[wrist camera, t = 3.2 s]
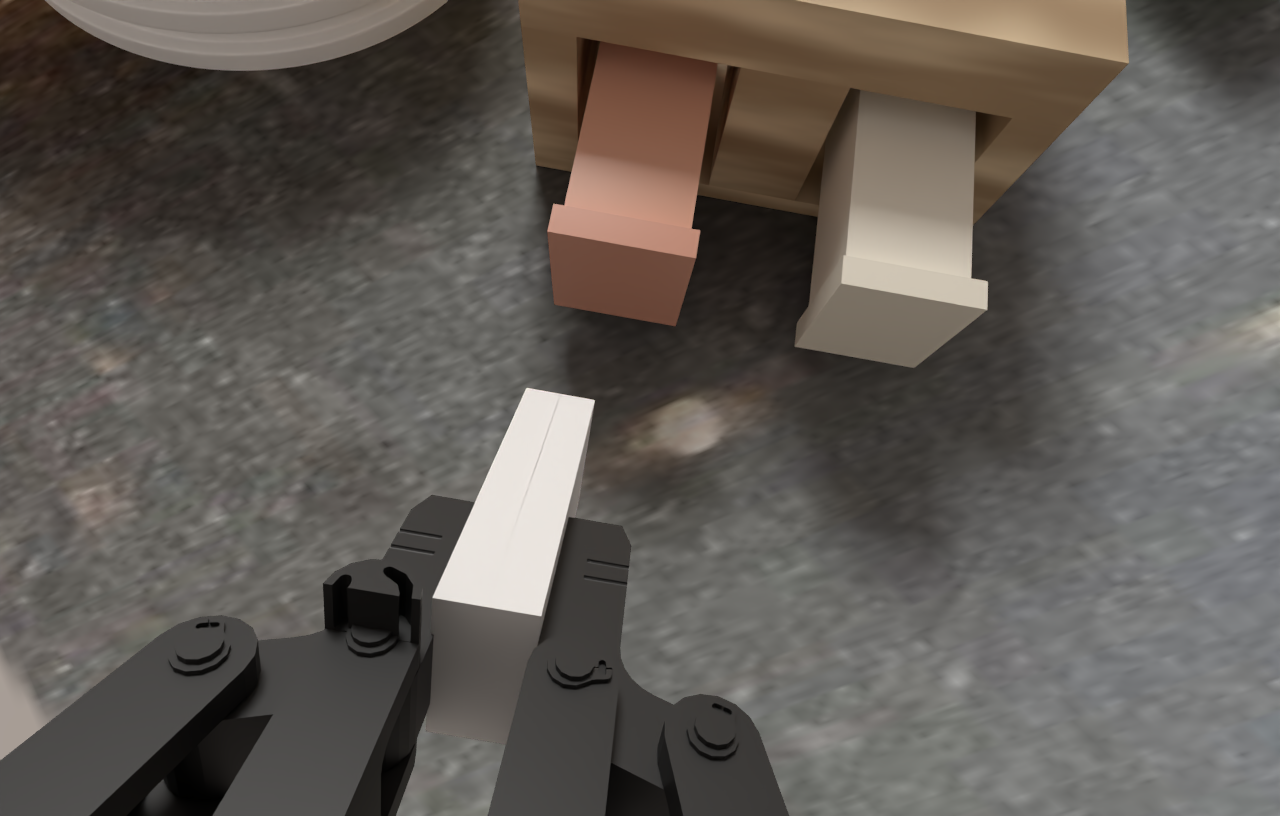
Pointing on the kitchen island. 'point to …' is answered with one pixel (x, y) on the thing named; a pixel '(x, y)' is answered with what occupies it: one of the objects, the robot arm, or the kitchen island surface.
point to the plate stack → (244, 28)
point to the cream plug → (894, 232)
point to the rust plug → (634, 187)
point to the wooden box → (833, 77)
